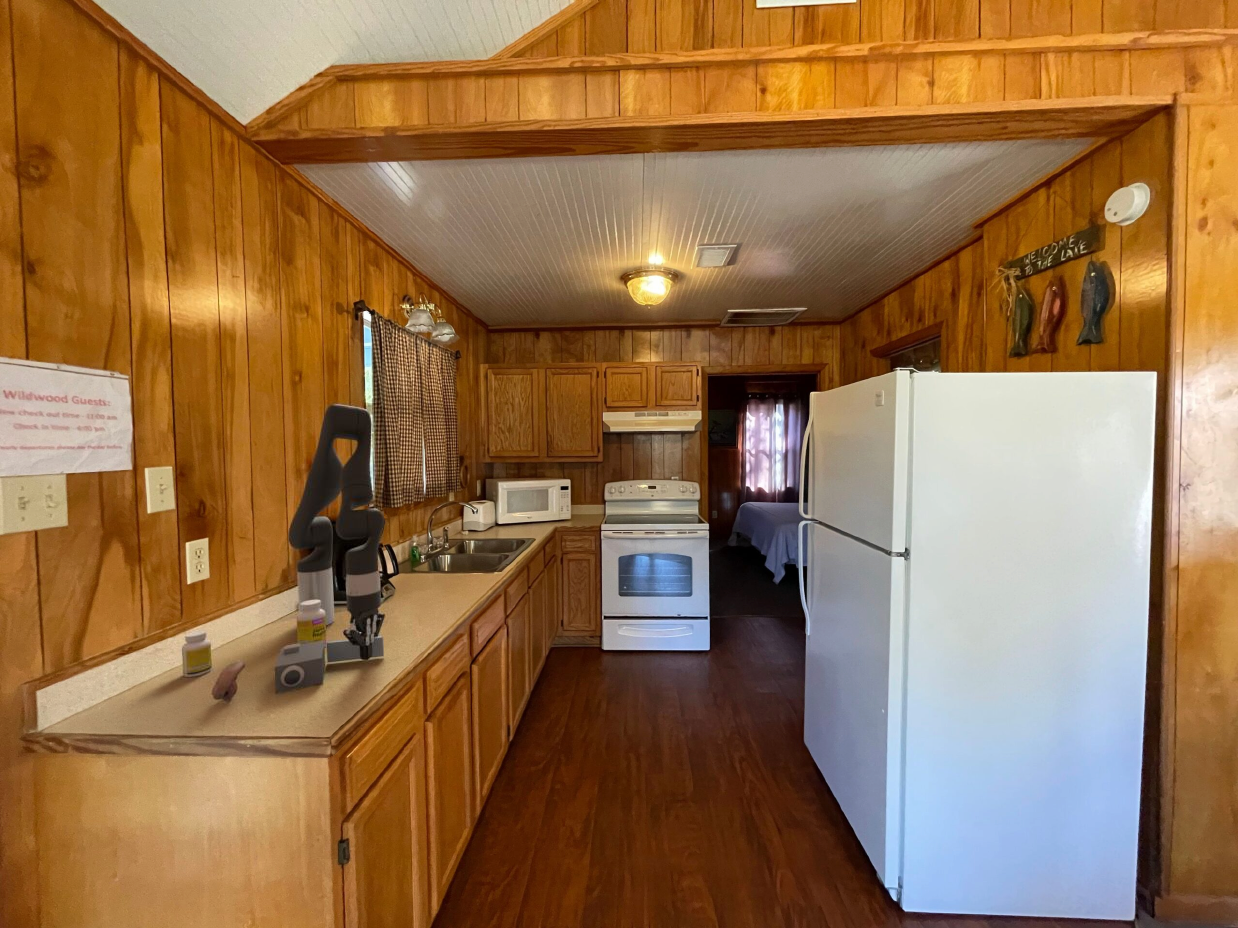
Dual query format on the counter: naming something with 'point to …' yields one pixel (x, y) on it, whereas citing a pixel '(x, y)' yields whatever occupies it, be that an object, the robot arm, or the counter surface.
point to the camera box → (300, 666)
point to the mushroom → (227, 682)
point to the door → (351, 650)
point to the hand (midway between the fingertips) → (366, 658)
